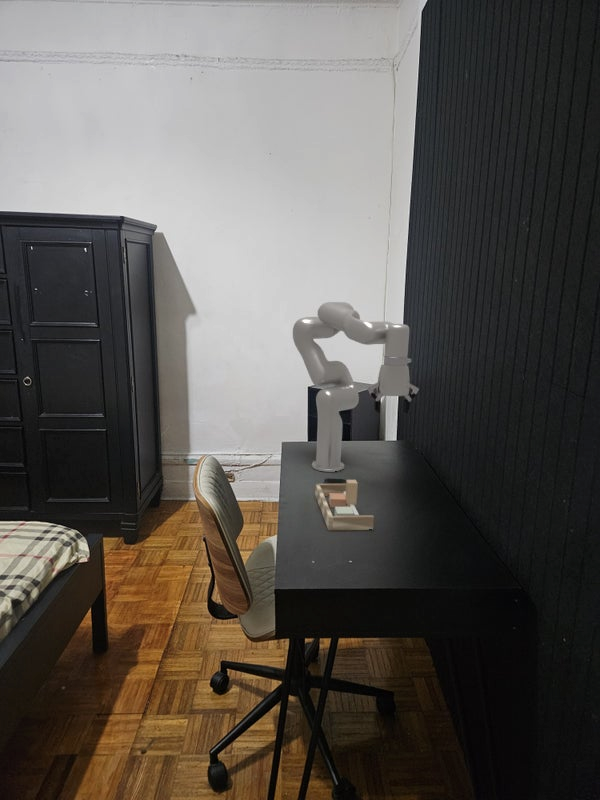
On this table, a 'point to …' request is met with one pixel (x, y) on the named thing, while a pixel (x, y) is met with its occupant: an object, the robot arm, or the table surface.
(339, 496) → the terracotta tile
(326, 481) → the phone
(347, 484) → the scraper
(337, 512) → the pale green square block
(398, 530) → the table surface
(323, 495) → the box
